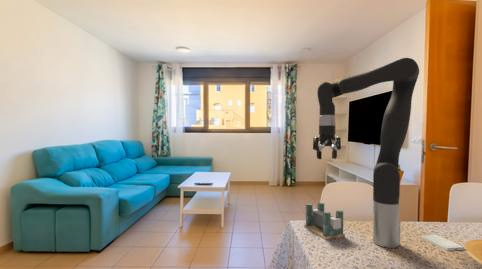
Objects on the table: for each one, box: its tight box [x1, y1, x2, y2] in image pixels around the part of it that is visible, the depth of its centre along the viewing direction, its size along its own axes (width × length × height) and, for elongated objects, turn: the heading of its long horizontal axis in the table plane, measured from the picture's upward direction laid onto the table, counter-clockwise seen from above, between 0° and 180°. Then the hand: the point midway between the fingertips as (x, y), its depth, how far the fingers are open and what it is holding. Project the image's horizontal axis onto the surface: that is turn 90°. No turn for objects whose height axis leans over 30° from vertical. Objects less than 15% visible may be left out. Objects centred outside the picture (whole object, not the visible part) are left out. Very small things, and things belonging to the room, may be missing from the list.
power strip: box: [313, 206, 341, 229], centre depth 117 cm, size 4×19×6 cm, turn 19°
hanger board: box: [304, 202, 346, 241], centre depth 117 cm, size 10×16×11 cm, turn 20°
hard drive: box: [419, 233, 465, 252], centre depth 105 cm, size 2×8×12 cm
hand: (326, 158), depth 121 cm, fingers open, 8 cm apart
